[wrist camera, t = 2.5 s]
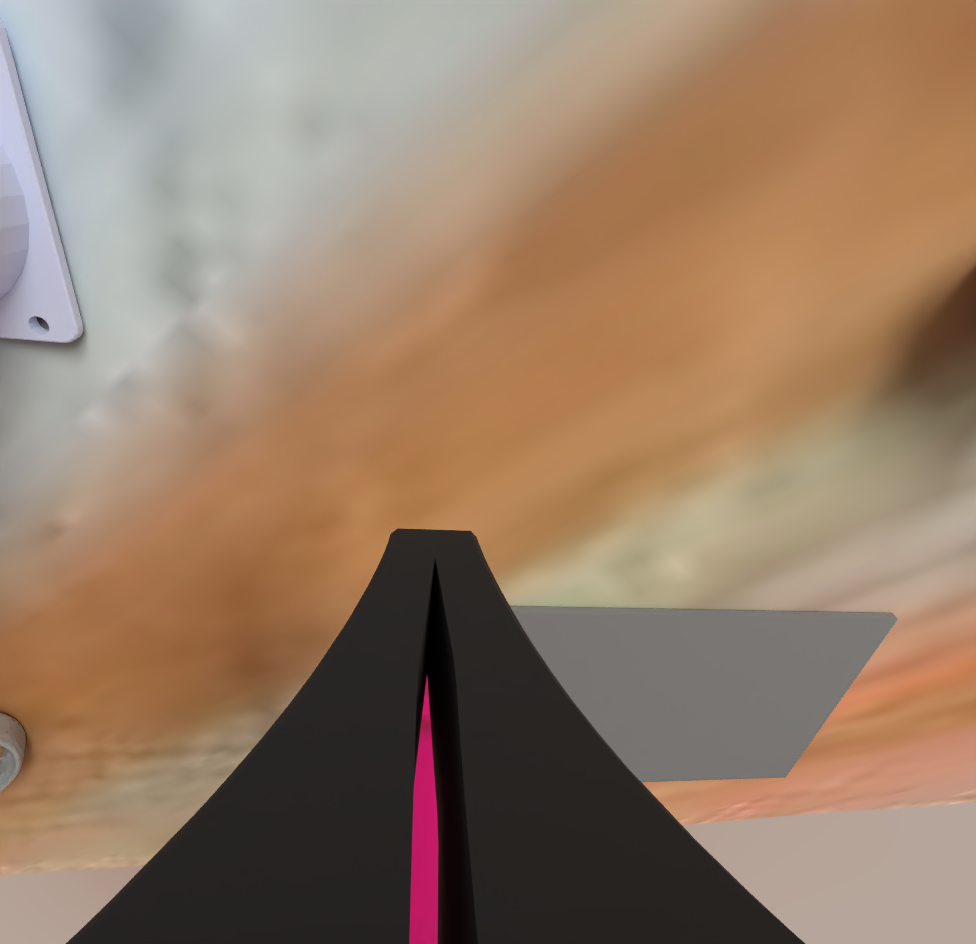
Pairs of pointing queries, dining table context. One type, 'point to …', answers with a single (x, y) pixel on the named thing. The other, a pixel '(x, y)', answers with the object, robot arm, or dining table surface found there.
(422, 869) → the pepper mill
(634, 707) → the mat
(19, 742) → the ceramic mug
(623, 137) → the dining table surface
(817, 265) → the dining table surface
